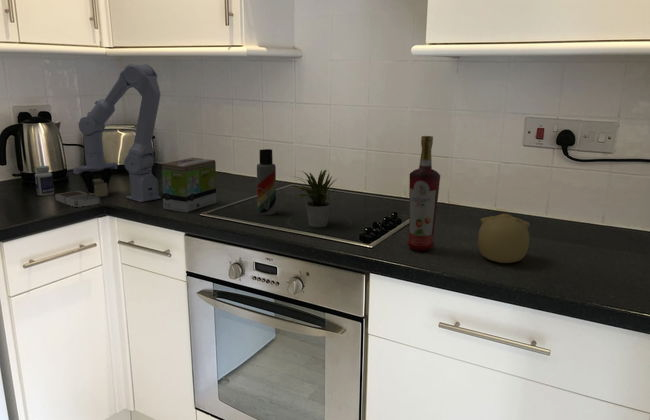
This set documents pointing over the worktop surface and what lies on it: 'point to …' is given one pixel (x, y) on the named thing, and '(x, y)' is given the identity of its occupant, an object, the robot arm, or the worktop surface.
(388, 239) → the worktop surface
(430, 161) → the liquor
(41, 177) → the pill bottle
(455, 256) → the worktop surface
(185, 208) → the tea box
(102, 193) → the block
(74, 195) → the grey flat frame
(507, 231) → the sculpture
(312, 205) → the house plant
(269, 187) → the lotion bottle
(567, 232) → the worktop surface
